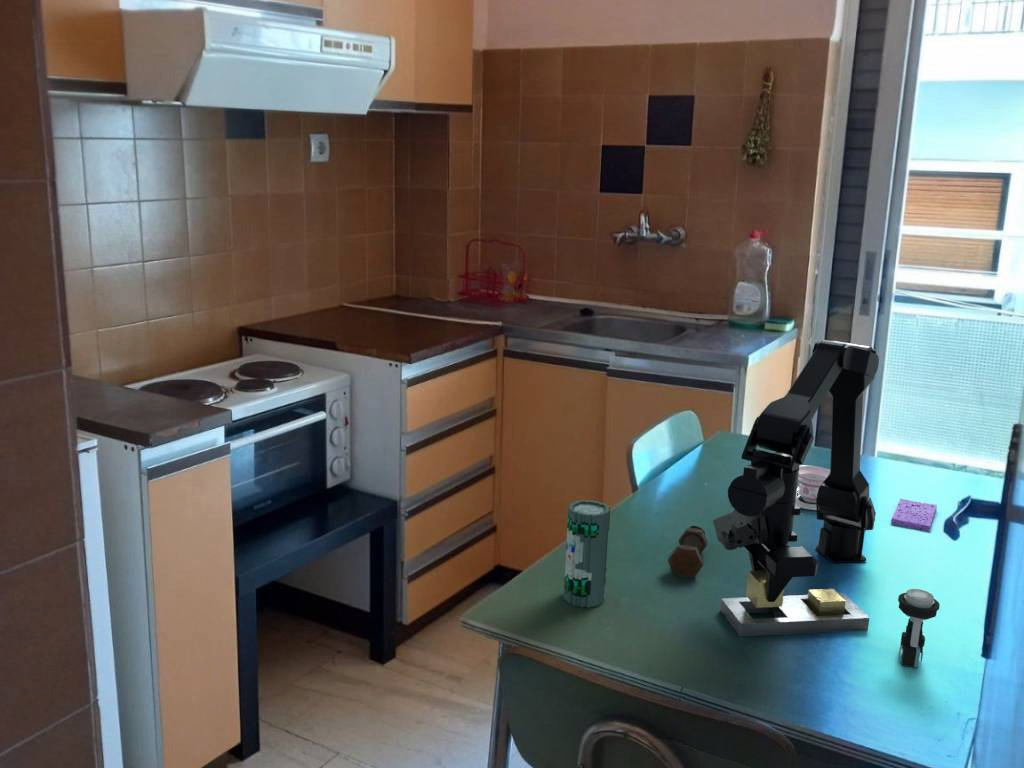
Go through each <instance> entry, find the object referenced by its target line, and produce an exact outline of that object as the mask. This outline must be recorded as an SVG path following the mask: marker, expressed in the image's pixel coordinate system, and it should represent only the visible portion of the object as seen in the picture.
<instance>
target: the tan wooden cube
mask: <svg viewBox="0 0 1024 768" xmlns="http://www.w3.org/2000/svg"><path fill="white" fill-rule="evenodd" d="M839 594H840V593H838V592H837V591H836V590H835V589H834V588H824V589H822V588H821V589H820V588H819V589H808V593H807V595H808V600H807V606H808V607H809V609H810V610H811V611H812V612H813V613H814V614H815V615H816V616H831V615H844V610H845V603H846V601H845V600H844V599H843V598H842V597H841V596H840V595H839Z"/></svg>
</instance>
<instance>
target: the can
mask: <svg viewBox="0 0 1024 768" xmlns="http://www.w3.org/2000/svg"><path fill="white" fill-rule="evenodd" d="M610 521H611V507H610V506H609V505H607V504H606V503H605V502H602V503H601V502H600V501H597V500H592V499H591V500H587V499H582V500H575V501H574V502H570V503H569V505H568V508H567V527H566V528H567V529H566V544H565V545H566V546H565V561H564V563H565V565H564V581H563V582H564V584H563V599H564V600H565V601H566V602H567V603H568V604H569V605H570V604H572V605H573V606H575V607H580V608H585V607H586V608H587V609H588V608H594V607H599V606H600V605H602V604H603V603H604V602H605V600H606V598H605V597H606V583H607V567H608V552H609V551H608V550H609V539H610V538H609V536H610V524H611V523H610Z"/></svg>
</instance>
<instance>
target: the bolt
mask: <svg viewBox="0 0 1024 768" xmlns="http://www.w3.org/2000/svg"><path fill="white" fill-rule="evenodd" d="M678 543H679V544H678V545H677V546H676V547H675V549H674V550H673V552H672V553H670V555H669V557H668V559H667V561H668V564H669V565H668V566H670V569H671V572H672V573H673V574H674V575H675V576H677V577H683V578H689V579H692V578H693V579H694V578H695V577H696V576H698V573H699V572H700V571H701V570H702V568H703V566H704V565H705V562H704V560H703V557H702V556H701V554H702V553H703V551H704V550H705V549H706V548H707V546H708V544H709V542H708V539H707V537H706V532H705V530H704V529H703V528H702V527H700V526H696V525H691V526H689V527H687V528H686V529H685V530H684V531H683V533H681V535H680V537H679V538H678Z"/></svg>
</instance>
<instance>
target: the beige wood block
mask: <svg viewBox="0 0 1024 768" xmlns="http://www.w3.org/2000/svg"><path fill="white" fill-rule="evenodd" d="M747 573H748V574H747V581H746V584H747V585H746V589H745V590H746V592H745V596H746V598H747V597H748V598H749V600H750V601H751V602H752V603H753V604H754V605H755V607H756V608H762V607H782V603H783V596H784V592H785V588H784V589H783V591H782V592H781V594H780V595H779V596H778V598H777V599H776V600H775V602H768V601H767V594H766V570H758V571H752V570H748V571H747Z"/></svg>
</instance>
